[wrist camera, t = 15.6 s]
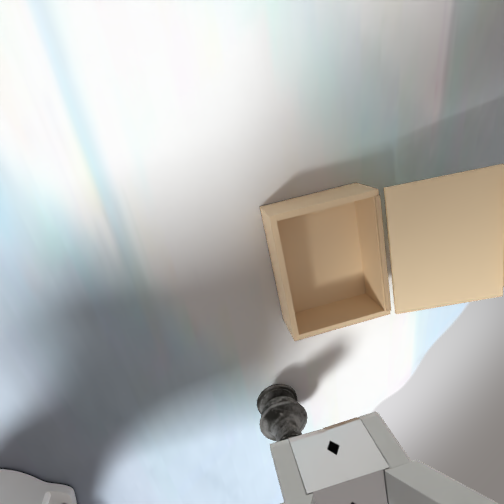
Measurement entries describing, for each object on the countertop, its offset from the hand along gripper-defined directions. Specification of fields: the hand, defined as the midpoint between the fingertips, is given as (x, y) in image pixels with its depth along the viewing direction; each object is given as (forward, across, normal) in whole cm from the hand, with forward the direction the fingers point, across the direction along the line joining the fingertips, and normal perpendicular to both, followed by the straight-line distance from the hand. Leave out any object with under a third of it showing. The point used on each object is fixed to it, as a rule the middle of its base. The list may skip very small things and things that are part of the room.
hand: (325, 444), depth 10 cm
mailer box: (+31, +10, -8) cm, 33 cm away
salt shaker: (+31, +1, -26) cm, 41 cm away
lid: (+24, +21, -8) cm, 33 cm away
